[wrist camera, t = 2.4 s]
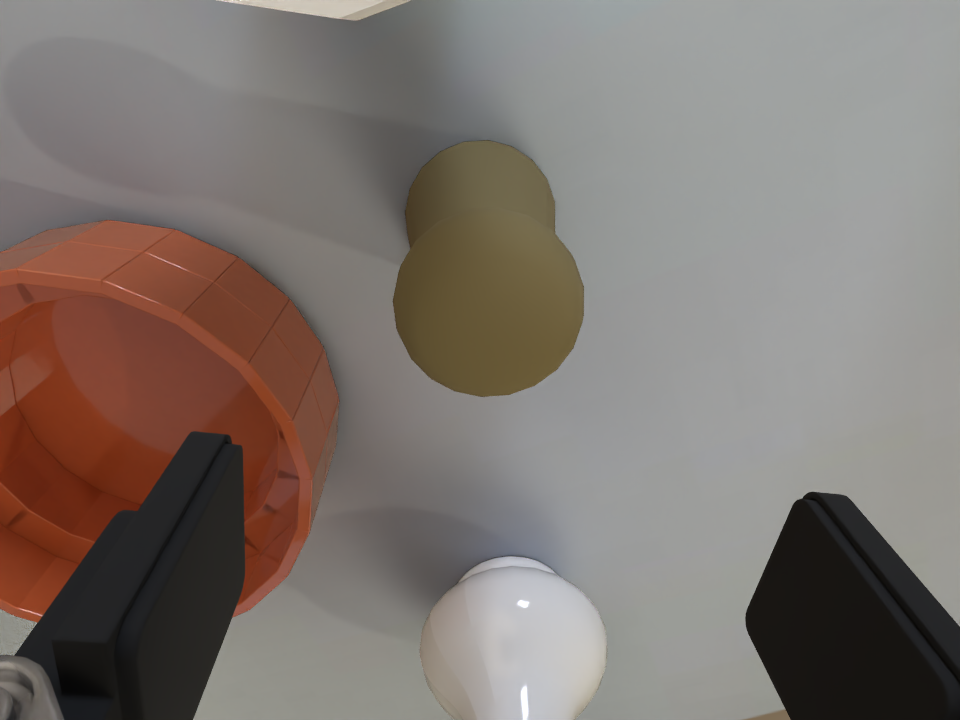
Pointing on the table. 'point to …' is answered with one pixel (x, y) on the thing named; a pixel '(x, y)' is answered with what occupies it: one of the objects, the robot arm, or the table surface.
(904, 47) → the table surface
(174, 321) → the orange plant pot
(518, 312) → the olive peg figure
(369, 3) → the foam cup
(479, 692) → the flower vase
